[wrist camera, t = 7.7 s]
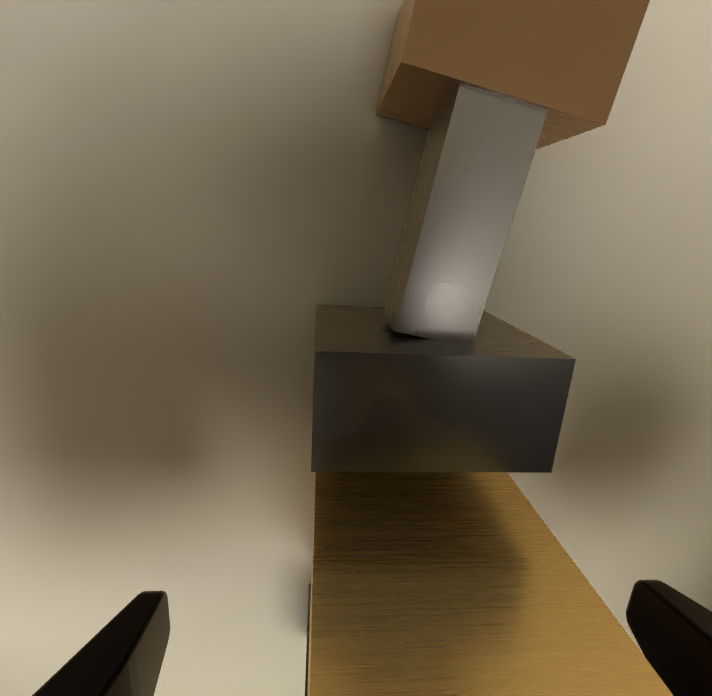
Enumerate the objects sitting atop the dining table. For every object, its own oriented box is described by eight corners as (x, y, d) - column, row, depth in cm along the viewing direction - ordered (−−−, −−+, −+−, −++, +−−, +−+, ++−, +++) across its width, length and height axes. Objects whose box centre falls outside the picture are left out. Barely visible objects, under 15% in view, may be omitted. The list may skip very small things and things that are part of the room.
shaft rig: (327, -12, 8) (331, -203, 4) (556, 13, 8) (729, -143, 5) (303, 773, 14) (297, 953, 10) (434, 764, 14) (469, 936, 11)
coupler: (471, 425, 11) (679, 702, 4) (452, 551, 12) (595, 913, 6) (316, 422, 10) (308, 720, 4) (311, 552, 11) (299, 942, 5)
